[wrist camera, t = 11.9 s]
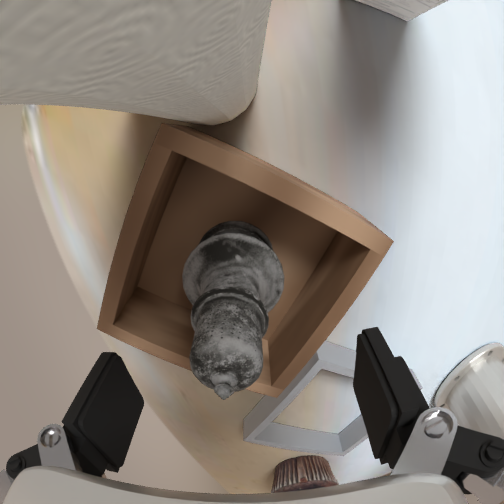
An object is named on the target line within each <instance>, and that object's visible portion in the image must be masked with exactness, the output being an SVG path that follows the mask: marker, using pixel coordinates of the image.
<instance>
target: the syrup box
mask: <svg viewBox="0 0 504 504" xmlns="http://www.w3.org/2000/svg"><path fill="white" fill-rule="evenodd" d="M355 1H358V2H361V3H364V4H366V5H369V6H371V7H374V8H377V9H379V10H382V11H384V12H387V13H389V14H392V15H394V16H396V17H399V18H401V19H403V20H405V21H410V20H411V19H413V18H415V17H417V16H419V15H420V14H422V13H425V12H426V11H428V10H430V9H432V8H434V7H436V6H438V5H440V4H442V3H444V2H446V1H448V0H355Z"/></svg>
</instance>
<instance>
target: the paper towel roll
mask: <svg viewBox="0 0 504 504" xmlns="http://www.w3.org/2000/svg"><path fill="white" fill-rule="evenodd" d="M270 6H271V0H0V104H35V105H59V106H74V107H86V108H96V109H106V110H114V111H122V112H129V113H136V114H143V115H149V116H155V117H161V118H167V119H172V120H178V121H183V122H188V123H193V124H202V125H217V124H220V123H224V122H227V121H231V120H232V119H234V118H235V117H237V116H238V115H239V114H241V113H242V112H243V111H245V110H246V109H247V107H248V106H249V104H250V103H251V101H252V99H253V98H254V96H255V95H256V90H257V83H258V77H259V71H260V65H261V59H262V53H263V47H264V41H265V35H266V29H267V23H268V17H269V12H270Z"/></svg>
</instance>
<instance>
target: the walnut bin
mask: <svg viewBox="0 0 504 504" xmlns="http://www.w3.org/2000/svg"><path fill="white" fill-rule="evenodd" d="M227 221H243V222H246V223H250V224H252V225H254V226H256V227H257V228H259V229H261V230H262V231H263V233H264V234H265V235H266V236H267V237H268V239H269V240H270V242H271V244H272V247H273V251H274V252H275V253H276V255H277V257H278V259H279V261H280V262H281V264H282V268H283V273H284V289H283V292H282V294H281V297H280V299H279V301H278V302H277V304H276V305H275V306H274V308H273V309H272V310H271V311H269V312H268V316H269V326H268V329H267V332H266V334H265V335H264V337H263V338H262V348H263V368H262V372H261V374H260V376H259V378H258V379H257V380H256V381H255V382H254V383H253V384H252V385H251V386H249V387H247V388H246V389H247V390H250V391H253V392H257V393H260V394H264V395H267V396H271V397H275V398H277V397H278V396H279V395H280V394H281V393H282V392H283V391H284V390H285V388H286V387H287V386H288V385H289V384H290V383H291V382H292V380H293V379H294V378H295V377H296V376H297V375H298V373H299V372H300V371H301V370H302V369H303V367H304V366H305V365H306V364H307V363H308V361H309V360H310V359H311V358H312V356H313V355H314V354H315V353H316V351H317V350H318V349H319V348H320V346H321V345H322V344H323V343H324V341H325V340H326V339H327V337H328V336H329V335H330V334H331V332H332V331H333V330H334V328H335V327H336V326H337V324H338V323H339V322H340V320H341V319H342V318H343V316H344V315H345V314H346V312H347V311H348V309H349V308H350V307H351V305H352V304H353V302H354V301H355V300H356V298H357V297H358V295H359V294H360V292H361V291H362V290H363V288H364V287H365V285H366V284H367V282H368V281H369V279H370V278H371V276H372V275H373V273H374V272H375V270H376V269H377V267H378V266H379V264H380V262H381V261H382V259H383V258H384V256H385V255H386V253H387V251H388V250H389V248H390V247H391V245H392V243H393V242H394V241H393V240H392V239H390V238H389V237H388V236H387V235H386V234H384V233H383V232H382V231H381V230H379V229H378V228H377V227H376V226H375V225H373V224H372V223H371V222H370V221H368V220H367V219H366V218H364V217H363V216H362V215H361V214H359V213H358V212H357V211H355V210H353V209H352V208H350V207H348V206H346V205H345V204H343V203H341V202H340V201H338V200H336V199H334V198H333V197H331V196H329V195H327V194H325V193H324V192H322V191H320V190H318V189H316V188H315V187H313V186H311V185H309V184H307V183H305V182H304V181H302V180H300V179H298V178H296V177H294V176H292V175H290V174H288V173H286V172H284V171H283V170H281V169H279V168H277V167H275V166H273V165H271V164H269V163H267V162H265V161H263V160H261V159H259V158H257V157H255V156H252V155H250V154H248V153H246V152H244V151H242V150H240V149H238V148H236V147H233V146H231V145H229V144H227V143H225V142H223V141H220V140H218V139H216V138H214V137H211V136H209V135H207V134H204V133H202V132H200V131H198V130H195V129H193V128H190V127H188V126H181V125H173V124H165V123H162V124H161V126H160V128H159V130H158V133H157V135H156V137H155V140H154V142H153V144H152V147H151V149H150V152H149V154H148V157H147V159H146V162H145V164H144V167H143V169H142V172H141V174H140V177H139V180H138V182H137V185H136V188H135V191H134V194H133V196H132V199H131V202H130V205H129V208H128V211H127V214H126V217H125V220H124V223H123V227H122V230H121V233H120V236H119V240H118V243H117V247H116V250H115V254H114V257H113V261H112V265H111V269H110V272H109V276H108V280H107V285H106V289H105V293H104V297H103V302H102V307H101V311H100V316H99V321H98V326H97V329H98V330H100V331H102V332H104V333H106V334H108V335H110V336H112V337H114V338H116V339H119V340H121V341H123V342H125V343H127V344H129V345H131V346H133V347H136V348H138V349H140V350H142V351H145V352H147V353H149V354H151V355H154V356H156V357H158V358H161V359H163V360H166V361H168V362H171V363H173V364H176V365H178V366H181V367H183V368H186V369H188V370H191V367H190V359H189V356H190V351H191V347H192V342H193V338H194V334H195V331H194V329H193V327H192V324H191V317H190V316H191V311H192V307H193V305H192V304H191V302H190V301H189V299H188V298H187V296H186V293H185V290H184V288H183V279H182V274H183V269H184V264H185V262H186V260H187V258H188V257H189V255H190V253H191V252H192V251H193V250H194V249H195V248H196V247H197V246H198V245H199V243H200V241H201V239H202V237H203V236H204V234H205V233H206V232H207V231H209V230H210V229H211V228H212V227H214V226H216V225H218V224H219V223H223V222H227ZM191 371H192V370H191Z"/></svg>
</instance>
